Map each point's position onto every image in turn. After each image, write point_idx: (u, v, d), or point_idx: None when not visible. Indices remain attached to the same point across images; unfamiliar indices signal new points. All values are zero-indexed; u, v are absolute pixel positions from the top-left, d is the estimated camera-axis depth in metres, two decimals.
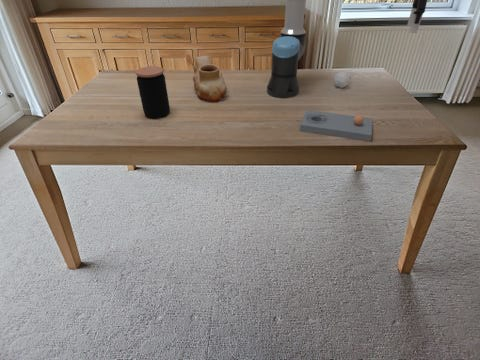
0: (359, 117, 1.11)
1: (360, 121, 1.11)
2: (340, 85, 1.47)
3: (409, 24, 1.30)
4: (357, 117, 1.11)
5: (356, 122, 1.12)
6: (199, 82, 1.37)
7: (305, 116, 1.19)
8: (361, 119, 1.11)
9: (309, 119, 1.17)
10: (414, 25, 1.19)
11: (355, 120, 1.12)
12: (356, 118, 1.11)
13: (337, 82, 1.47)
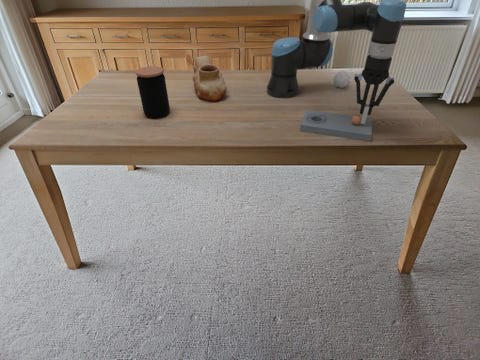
0: (355, 117, 1.11)
1: (357, 120, 1.11)
2: (340, 85, 1.47)
3: None
4: (353, 118, 1.12)
5: (354, 122, 1.12)
6: (199, 82, 1.37)
7: (305, 116, 1.19)
8: (358, 118, 1.11)
9: (309, 119, 1.17)
10: (362, 115, 1.11)
11: (352, 121, 1.12)
12: (352, 119, 1.12)
13: (337, 82, 1.47)
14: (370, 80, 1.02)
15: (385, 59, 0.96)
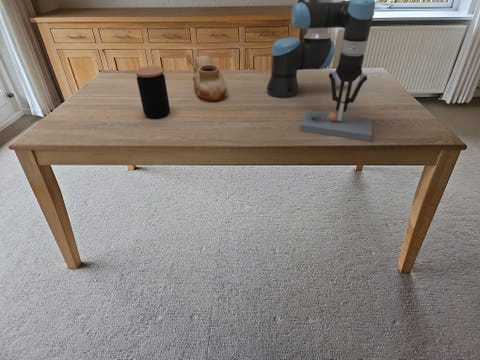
0: (336, 118, 1.14)
1: (333, 120, 1.14)
2: None
3: None
4: (336, 116, 1.14)
5: (331, 117, 1.14)
6: (199, 82, 1.37)
7: (305, 116, 1.19)
8: (335, 120, 1.14)
9: (309, 119, 1.17)
10: None
11: (333, 115, 1.13)
12: (335, 115, 1.13)
13: (337, 82, 1.47)
14: (344, 77, 1.04)
15: (357, 56, 0.98)
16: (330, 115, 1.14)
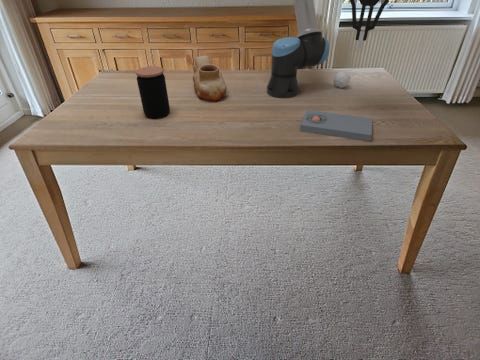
0: None
1: (314, 119, 1.17)
2: (340, 85, 1.47)
3: None
4: None
5: None
6: (199, 82, 1.37)
7: (305, 116, 1.19)
8: None
9: (309, 119, 1.17)
10: None
11: None
12: None
13: (337, 82, 1.47)
14: (365, 0, 1.04)
15: None
16: None
